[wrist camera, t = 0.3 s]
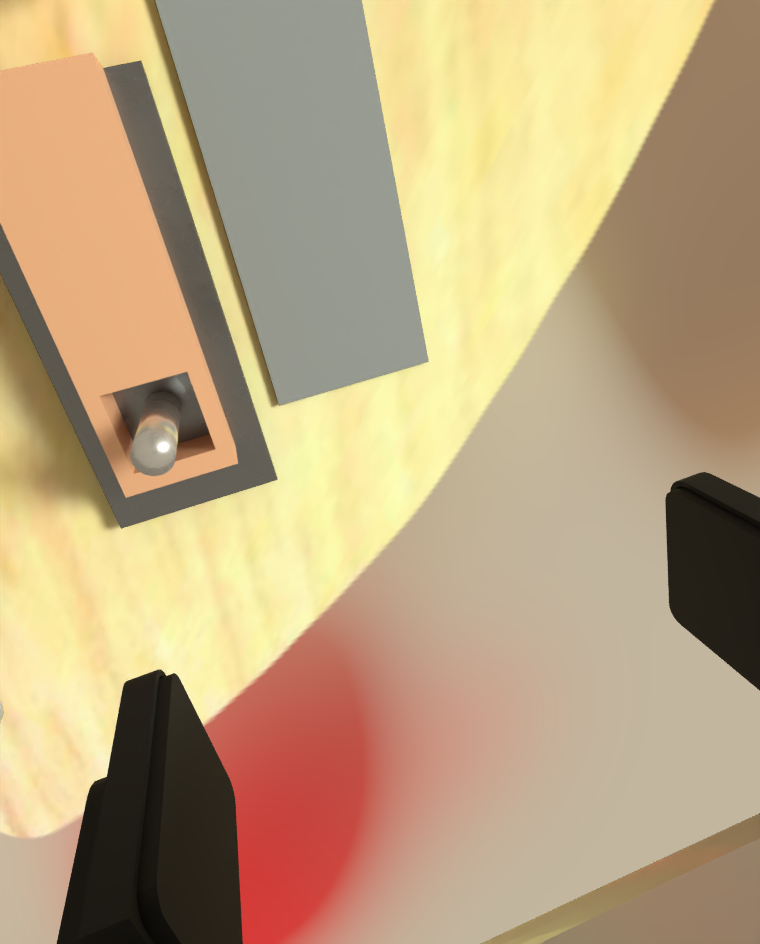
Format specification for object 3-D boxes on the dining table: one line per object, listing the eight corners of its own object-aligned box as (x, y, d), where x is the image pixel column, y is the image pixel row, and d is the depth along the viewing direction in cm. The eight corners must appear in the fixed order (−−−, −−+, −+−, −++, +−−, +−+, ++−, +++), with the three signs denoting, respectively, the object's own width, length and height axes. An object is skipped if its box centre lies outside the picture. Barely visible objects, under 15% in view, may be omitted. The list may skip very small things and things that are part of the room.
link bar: (-39, 96, 28) (-64, 83, 25) (103, 67, 29) (92, 52, 26) (131, 477, 36) (125, 497, 34) (235, 445, 37) (238, 463, 35)
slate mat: (146, -28, 29) (145, -31, 28) (347, -64, 30) (349, -67, 30) (278, 403, 38) (279, 405, 38) (426, 360, 40) (428, 361, 39)
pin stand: (-71, 108, 28) (-179, 64, 20) (142, 65, 30) (120, 9, 22) (122, 521, 38) (101, 601, 30) (275, 473, 40) (294, 538, 32)
